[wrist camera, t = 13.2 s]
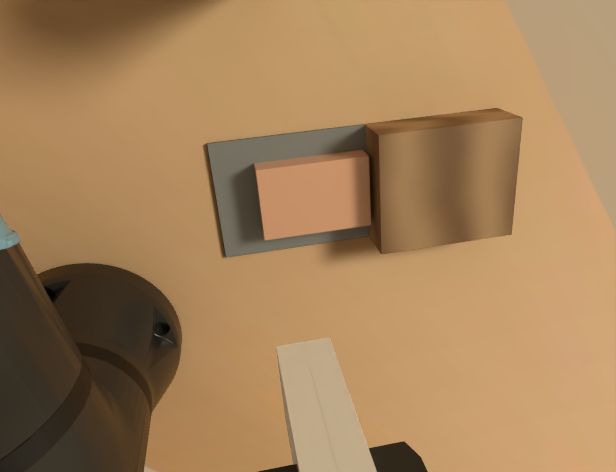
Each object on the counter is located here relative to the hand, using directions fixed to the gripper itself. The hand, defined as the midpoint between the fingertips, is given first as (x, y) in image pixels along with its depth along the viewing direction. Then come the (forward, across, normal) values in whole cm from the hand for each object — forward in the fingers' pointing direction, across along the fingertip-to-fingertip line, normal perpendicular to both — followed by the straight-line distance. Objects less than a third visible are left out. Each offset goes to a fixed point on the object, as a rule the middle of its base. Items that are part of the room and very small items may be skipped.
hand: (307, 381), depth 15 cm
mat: (+29, +4, -5) cm, 30 cm away
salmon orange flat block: (+29, +5, -5) cm, 30 cm away
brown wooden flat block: (+29, +16, -5) cm, 34 cm away
